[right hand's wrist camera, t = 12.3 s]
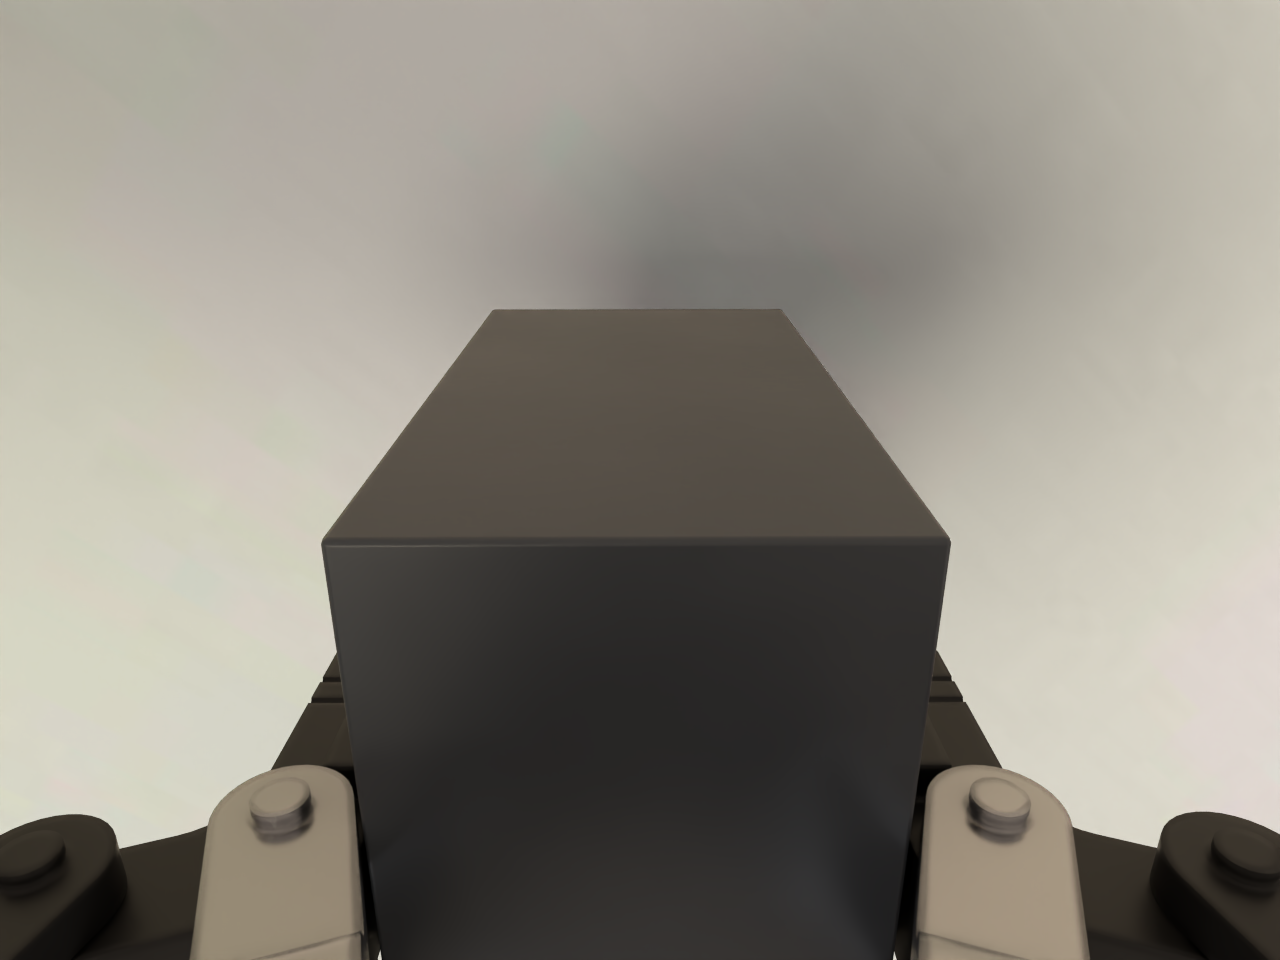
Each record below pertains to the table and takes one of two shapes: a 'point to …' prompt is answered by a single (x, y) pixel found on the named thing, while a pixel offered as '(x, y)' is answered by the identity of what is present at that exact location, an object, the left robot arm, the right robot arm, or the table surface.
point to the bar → (636, 649)
